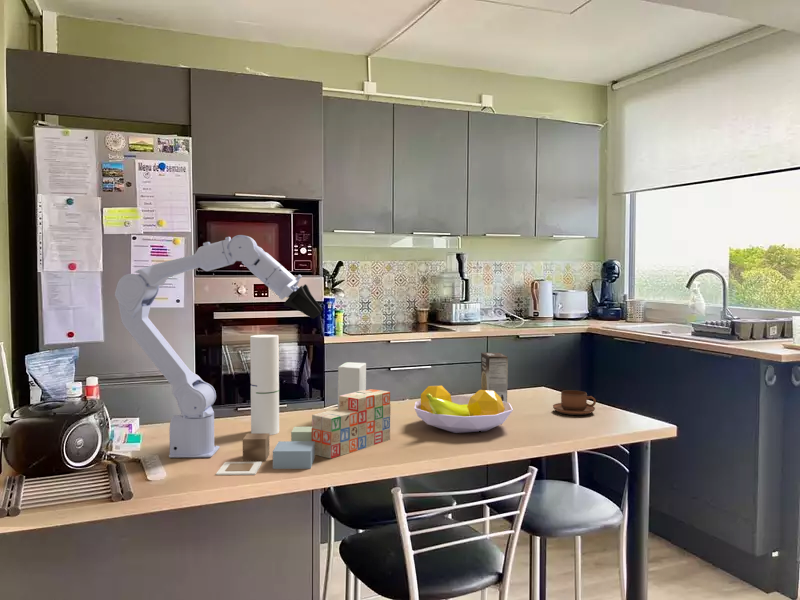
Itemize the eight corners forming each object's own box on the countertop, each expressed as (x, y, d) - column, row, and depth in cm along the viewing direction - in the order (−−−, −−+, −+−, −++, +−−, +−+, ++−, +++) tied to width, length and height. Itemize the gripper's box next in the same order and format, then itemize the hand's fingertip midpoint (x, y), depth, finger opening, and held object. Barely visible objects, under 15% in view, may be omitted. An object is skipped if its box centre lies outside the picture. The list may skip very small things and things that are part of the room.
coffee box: (480, 403, 206) (480, 352, 205) (499, 402, 206) (500, 352, 206) (487, 409, 197) (487, 356, 196) (507, 408, 197) (508, 355, 197)
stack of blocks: (331, 459, 145) (330, 405, 144) (311, 454, 149) (310, 401, 148) (390, 439, 162) (390, 390, 161) (371, 436, 165) (371, 387, 165)
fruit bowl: (468, 412, 193) (469, 374, 193) (533, 431, 170) (534, 388, 170) (388, 423, 178) (388, 382, 177) (447, 446, 155) (448, 399, 155)
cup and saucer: (587, 408, 199) (587, 388, 198) (600, 417, 187) (601, 396, 186) (548, 409, 198) (548, 388, 198) (559, 417, 186) (559, 396, 186)
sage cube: (291, 453, 149) (291, 432, 149) (294, 447, 154) (294, 426, 154) (313, 453, 150) (313, 431, 149) (315, 447, 155) (315, 426, 154)
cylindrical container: (265, 427, 173) (265, 334, 172) (285, 431, 169) (284, 335, 168) (245, 432, 168) (244, 336, 166) (264, 437, 164) (263, 338, 162)
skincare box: (345, 415, 188) (345, 361, 187) (367, 416, 187) (367, 362, 186) (336, 422, 180) (336, 366, 179) (359, 423, 178) (359, 366, 178)
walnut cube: (242, 461, 143) (242, 439, 143) (247, 455, 148) (247, 433, 148) (265, 461, 143) (265, 439, 143) (269, 455, 148) (269, 433, 148)
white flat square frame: (215, 474, 133) (215, 473, 133) (225, 463, 141) (225, 461, 141) (255, 474, 134) (255, 472, 134) (262, 463, 142) (262, 461, 142)
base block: (272, 470, 138) (272, 451, 138) (278, 459, 146) (278, 441, 146) (310, 469, 138) (310, 451, 138) (314, 458, 146) (314, 441, 146)
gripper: (280, 261, 140) (327, 302, 141) (289, 262, 155) (332, 299, 156) (258, 285, 140) (306, 327, 141) (269, 284, 155) (312, 321, 156)
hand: (318, 314), depth 148 cm, fingers open, 7 cm apart
